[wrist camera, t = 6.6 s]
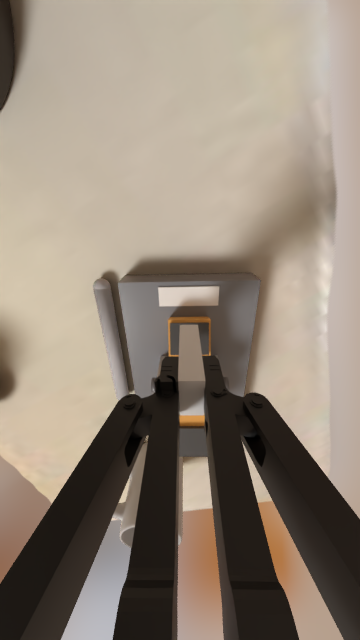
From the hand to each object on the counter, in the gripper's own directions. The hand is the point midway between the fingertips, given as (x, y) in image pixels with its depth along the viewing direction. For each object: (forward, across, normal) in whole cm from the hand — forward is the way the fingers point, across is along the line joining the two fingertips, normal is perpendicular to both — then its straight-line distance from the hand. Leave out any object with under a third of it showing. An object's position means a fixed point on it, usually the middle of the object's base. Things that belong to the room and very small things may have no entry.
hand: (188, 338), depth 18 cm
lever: (+2, 0, -7) cm, 7 cm away
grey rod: (+8, -9, -5) cm, 13 cm away
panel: (+8, 0, -6) cm, 10 cm away
